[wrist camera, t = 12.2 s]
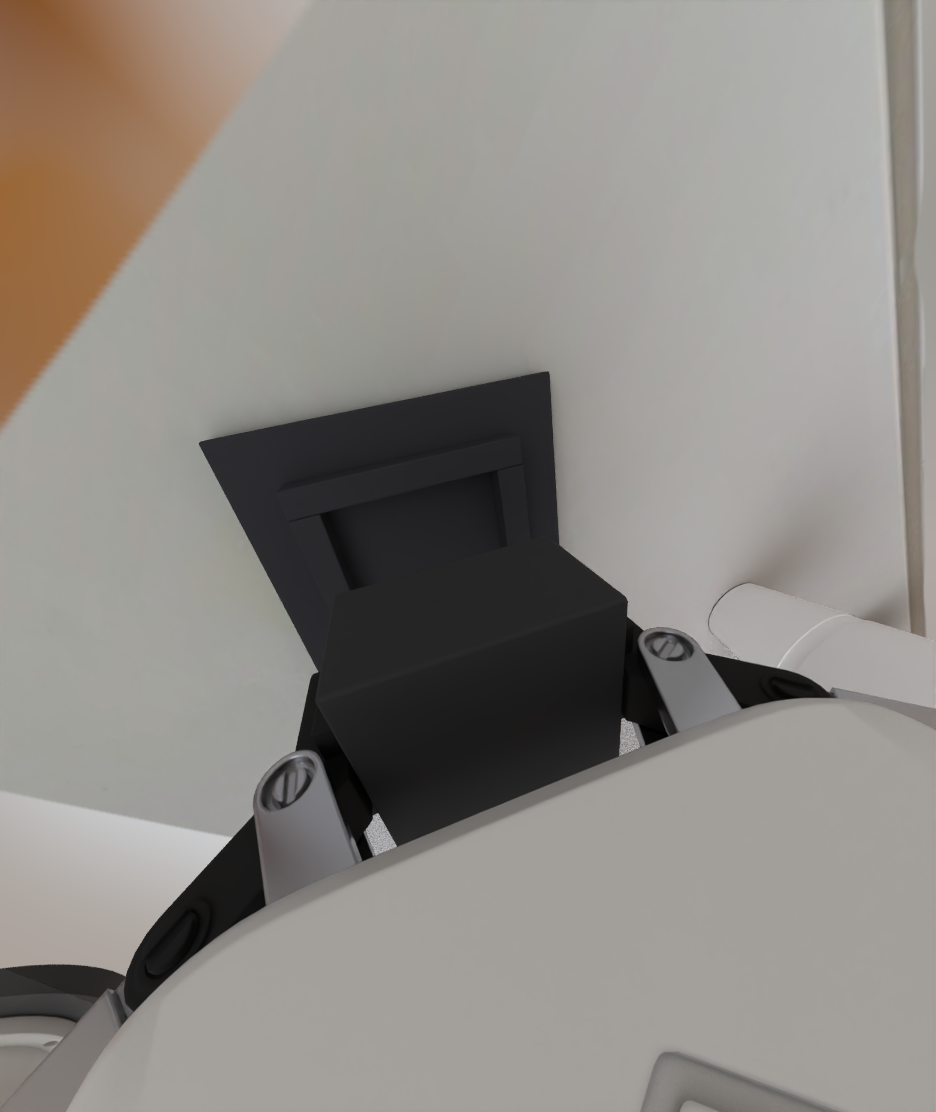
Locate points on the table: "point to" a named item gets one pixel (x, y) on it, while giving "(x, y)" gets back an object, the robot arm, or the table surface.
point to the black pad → (474, 682)
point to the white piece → (826, 645)
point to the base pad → (390, 490)
